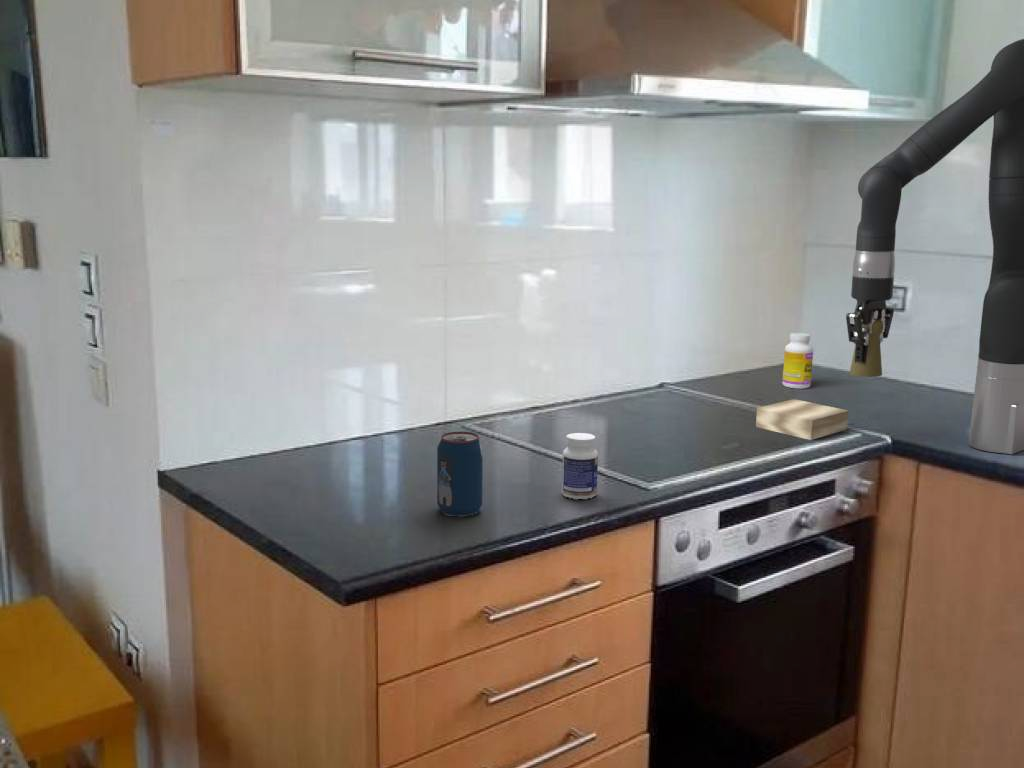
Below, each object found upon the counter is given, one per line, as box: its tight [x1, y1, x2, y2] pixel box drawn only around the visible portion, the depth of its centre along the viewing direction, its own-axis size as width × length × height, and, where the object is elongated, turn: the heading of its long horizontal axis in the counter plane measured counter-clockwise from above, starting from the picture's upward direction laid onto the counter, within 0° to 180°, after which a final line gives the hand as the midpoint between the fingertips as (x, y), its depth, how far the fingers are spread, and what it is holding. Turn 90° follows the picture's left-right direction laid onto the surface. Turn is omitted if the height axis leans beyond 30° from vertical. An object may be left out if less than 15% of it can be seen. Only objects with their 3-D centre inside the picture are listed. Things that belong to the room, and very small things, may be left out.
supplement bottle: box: [782, 332, 814, 390], centre depth 251 cm, size 7×7×13 cm
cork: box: [849, 319, 884, 378], centre depth 201 cm, size 6×6×11 cm
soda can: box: [436, 431, 484, 517], centre depth 159 cm, size 7×7×12 cm
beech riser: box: [755, 398, 849, 441], centre depth 212 cm, size 13×13×4 cm
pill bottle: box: [561, 432, 599, 500], centre depth 168 cm, size 6×6×10 cm
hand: (867, 362), depth 202 cm, fingers closed on cork, 4 cm apart
